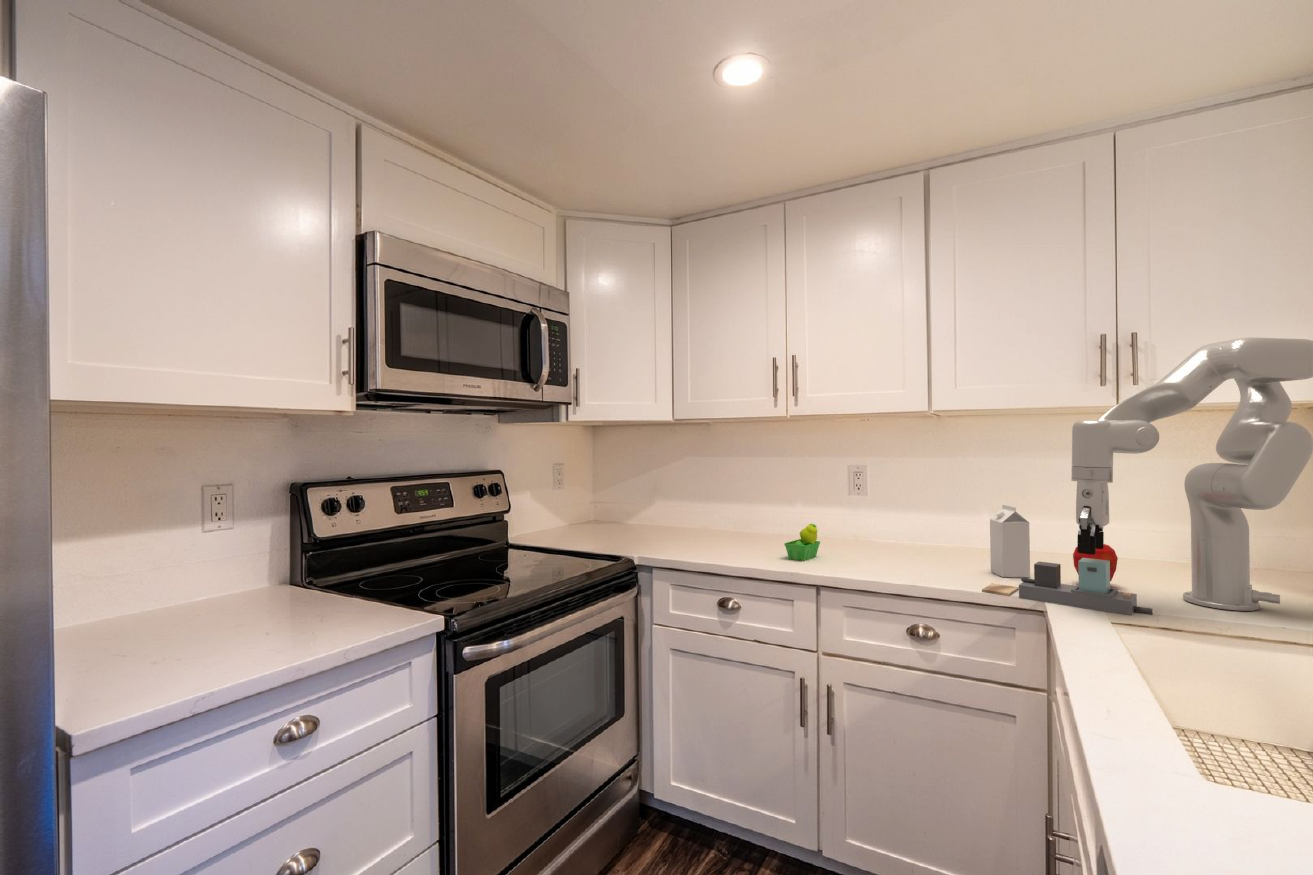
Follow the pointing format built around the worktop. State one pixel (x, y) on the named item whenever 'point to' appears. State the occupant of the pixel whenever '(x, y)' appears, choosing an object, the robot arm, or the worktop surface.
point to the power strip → (1075, 592)
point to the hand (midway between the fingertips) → (1090, 550)
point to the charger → (1094, 575)
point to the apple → (1099, 558)
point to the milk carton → (1009, 543)
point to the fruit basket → (804, 544)
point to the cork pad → (1000, 589)
